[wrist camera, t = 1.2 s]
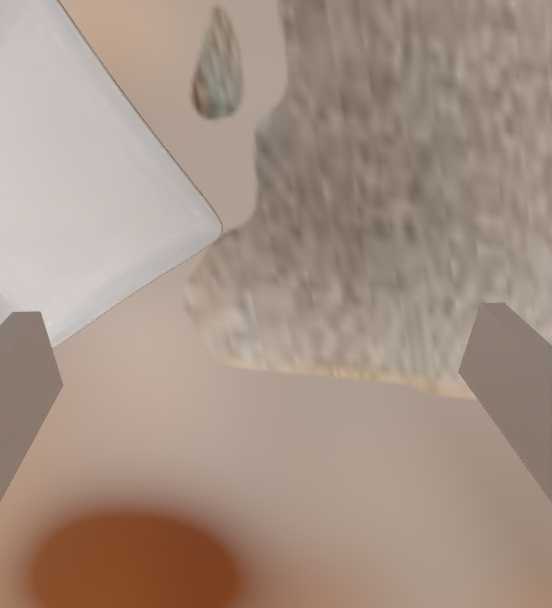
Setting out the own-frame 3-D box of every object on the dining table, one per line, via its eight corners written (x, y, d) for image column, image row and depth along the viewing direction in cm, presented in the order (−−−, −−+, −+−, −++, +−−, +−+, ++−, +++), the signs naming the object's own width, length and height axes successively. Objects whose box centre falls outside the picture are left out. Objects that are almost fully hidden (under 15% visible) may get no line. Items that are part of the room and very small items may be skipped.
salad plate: (231, 220, 35) (230, 233, 33) (52, 339, 40) (37, 360, 37) (34, -50, 26) (7, -66, 23) (-173, 145, 30) (-218, 154, 27)
